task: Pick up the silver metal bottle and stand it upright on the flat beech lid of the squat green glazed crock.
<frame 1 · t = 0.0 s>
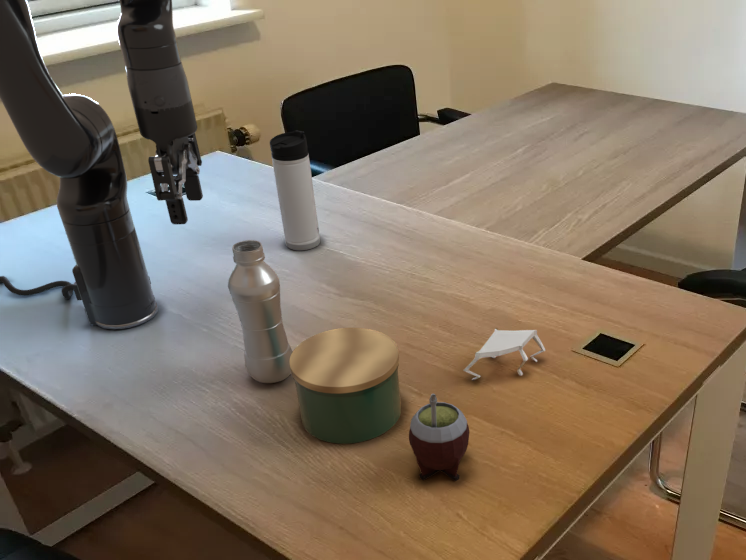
hand: (187, 211, 118), 17 cm above the table, tool pointing down, fingers open, 8 cm apart
crock: (351, 412, 106), on the table
mate gourd: (441, 471, 97), on the table
silver metal bottle: (272, 376, 113), on the table
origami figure: (499, 371, 115), on the table
travel mug: (304, 244, 149), on the table
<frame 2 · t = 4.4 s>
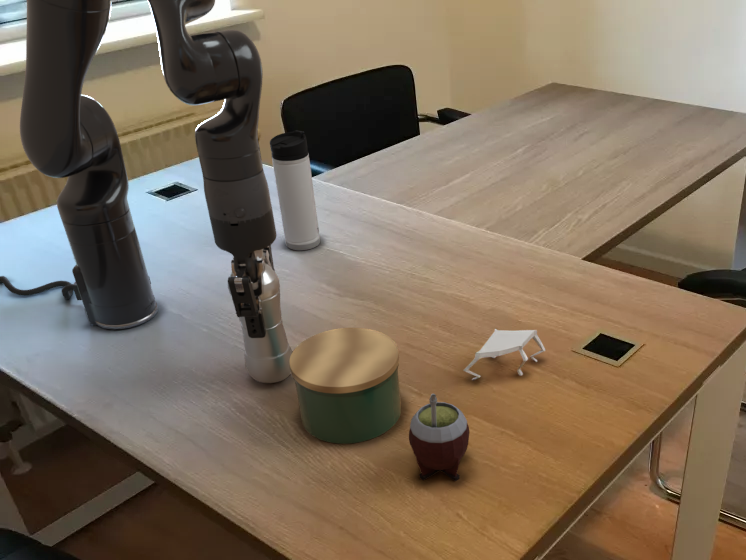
hand: (262, 323, 108), 9 cm above the table, tool pointing down, fingers closed on silver metal bottle, 6 cm apart
silver metal bottle: (272, 376, 113), on the table, touching gripper
everything else where it was.
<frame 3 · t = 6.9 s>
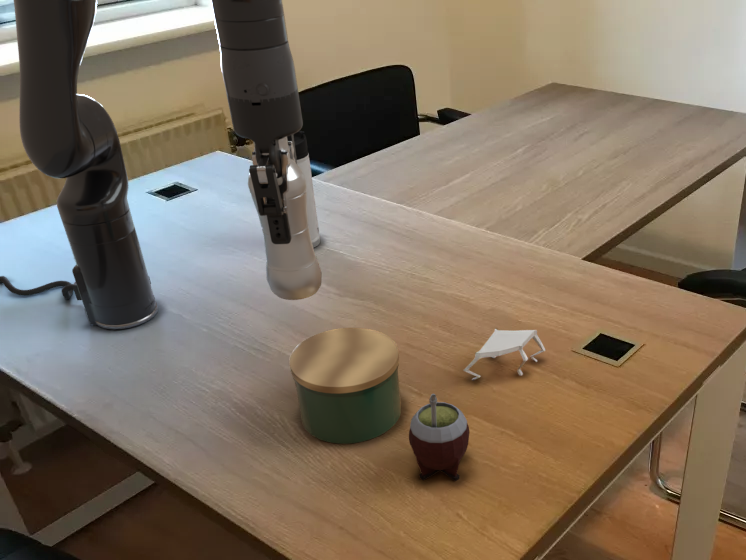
hand: (286, 230, 96), 24 cm above the table, tool pointing down, fingers closed on silver metal bottle, 6 cm apart
silver metal bottle: (297, 295, 101), point 15 cm above the table, touching gripper
everything else where it was.
when the fingers open (18 cm above the table, at t = 9.8 s): silver metal bottle stays where it is, resting on crock.
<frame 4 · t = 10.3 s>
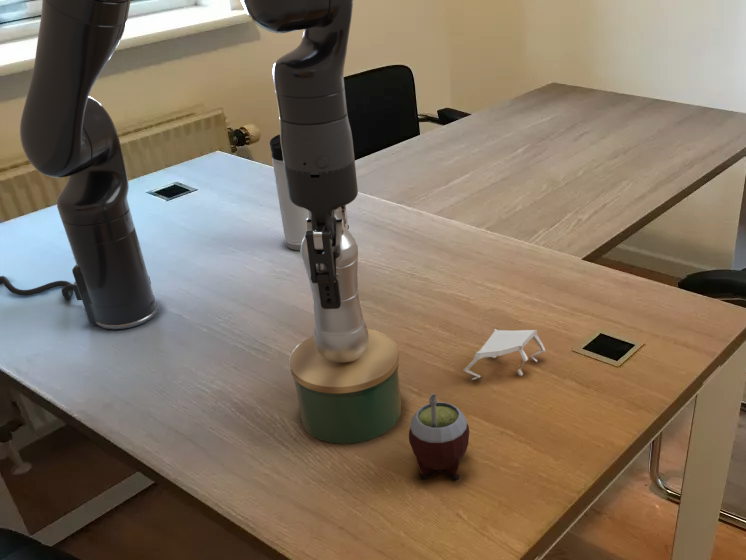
hand: (335, 289, 96), 18 cm above the table, tool pointing down, fingers open, 8 cm apart
silver metal bottle: (343, 356, 101), point 9 cm above the table, touching crock
everything else where it was.
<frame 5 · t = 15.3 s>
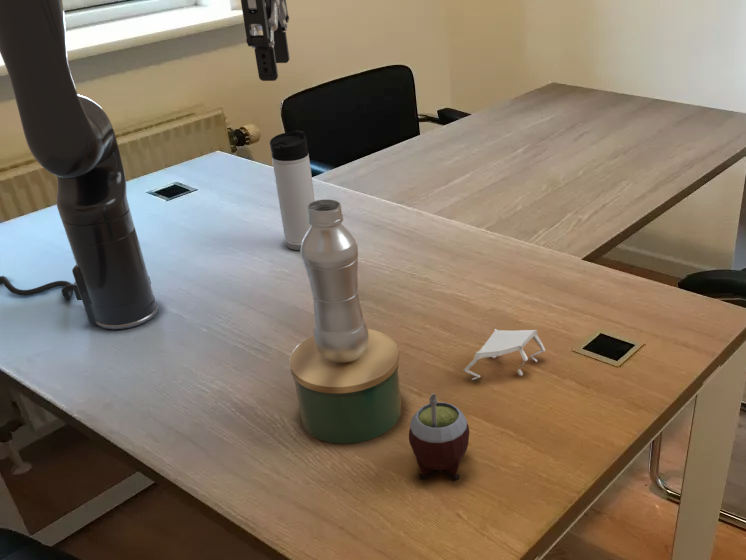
hand: (275, 71, 102), 38 cm above the table, tool pointing down, fingers open, 8 cm apart
nothing on the table moved.
at the end: silver metal bottle 0.1 cm off-centre on the crock, point 8.8 cm above the crock's base; silver metal bottle tilted 0°; the gripper is holding nothing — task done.
